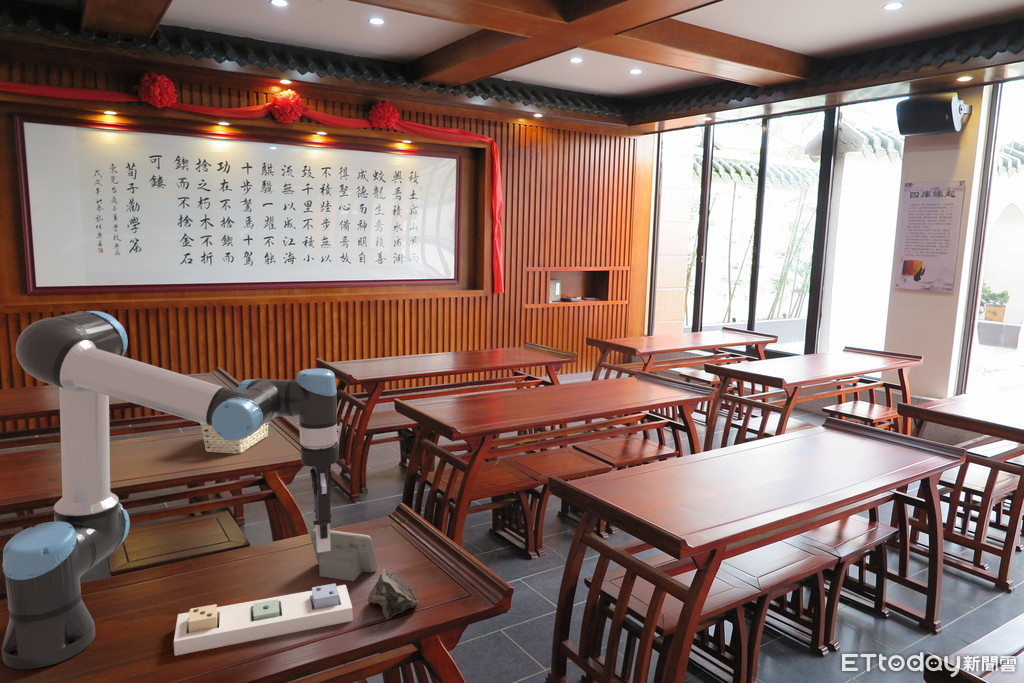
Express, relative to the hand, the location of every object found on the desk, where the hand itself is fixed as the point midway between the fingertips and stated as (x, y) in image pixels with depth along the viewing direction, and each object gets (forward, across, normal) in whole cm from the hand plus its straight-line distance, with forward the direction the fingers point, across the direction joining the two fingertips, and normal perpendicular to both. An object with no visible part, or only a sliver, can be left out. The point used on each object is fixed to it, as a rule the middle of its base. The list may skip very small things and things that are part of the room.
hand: (323, 550), depth 143 cm
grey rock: (+15, -2, -15) cm, 21 cm away
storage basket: (+14, +129, +19) cm, 131 cm away
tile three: (+13, 0, +24) cm, 27 cm away
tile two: (+13, 0, 0) cm, 13 cm away
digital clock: (+15, +17, -6) cm, 24 cm away
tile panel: (+15, 0, +12) cm, 19 cm away
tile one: (+14, 0, +12) cm, 19 cm away
